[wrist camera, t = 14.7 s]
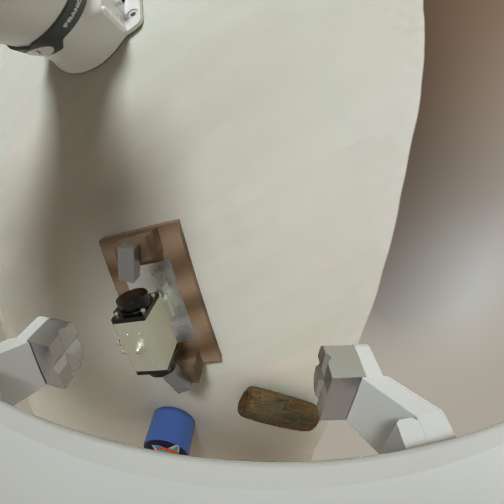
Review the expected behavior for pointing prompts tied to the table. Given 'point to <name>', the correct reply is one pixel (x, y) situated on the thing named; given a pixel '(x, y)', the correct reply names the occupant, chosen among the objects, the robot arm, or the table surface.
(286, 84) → the table surface
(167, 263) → the grey long bracket
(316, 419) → the brown wooden cylinder
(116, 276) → the shaft rig base
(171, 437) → the water bottle
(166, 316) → the pneumatic valve
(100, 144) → the table surface
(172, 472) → the robot arm
